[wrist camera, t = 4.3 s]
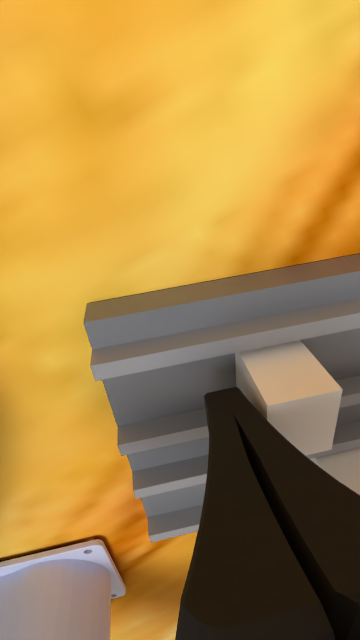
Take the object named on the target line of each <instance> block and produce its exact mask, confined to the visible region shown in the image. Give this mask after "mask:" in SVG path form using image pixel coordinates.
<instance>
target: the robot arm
mask: <svg viewBox="0 0 360 640" xmlns="http://www.w3.org/2000/svg"><path fill="white" fill-rule="evenodd" d="M204 400H205V408H206V417H207V425H208V431H209V455H208V469H207V479H206V487H205V494H204V501H203V507H202V513H201V518H200V524H199V529H198V533H197V538H196V542H195V547H194V551H193V556H192V560H191V564H190V568H189V571H188V575H187V579H186V582H185V586H184V590H183V594H182V597H181V602H180V611H179V618H178V624H177V631H176V639H175V640H360V495H359V494H357V493H356V492H354V491H353V490H351V489H350V488H348V487H347V486H345V485H344V484H342V483H341V482H339V481H338V480H336V479H335V478H334V477H332V476H331V475H330V474H328V473H327V472H326V471H324V470H323V469H322V468H320V467H319V466H318V465H317V464H315V463H314V462H313V461H311V460H310V459H309V458H308V457H307V456H305V455H304V454H303V453H302V452H301V451H299V450H298V449H297V448H296V447H295V446H294V445H293V444H291V443H290V442H289V441H288V440H287V439H286V438H285V437H284V436H283V435H282V434H281V433H279V432H278V431H277V430H276V429H275V428H274V427H273V426H272V425H271V424H270V423H269V422H268V421H267V420H266V419H265V418H264V417H263V415H262V414H261V413H260V412H259V411H258V410H257V409H256V408H255V407H254V406H253V405H252V403H251V402H250V401H249V400H248V399H247V398H246V396H245V395H244V394H243V393H242V392H241V390H240V389H239V388H238V387H233V388H228V389H223V390H218V391H214V392H209V393H206V394H205V395H204ZM125 594H126V586H125V584H124V582H123V580H122V578H121V576H120V574H119V572H118V570H117V568H116V566H115V564H114V562H113V560H112V558H111V556H110V554H109V552H108V550H107V548H106V546H105V544H104V542H103V541H102V540H99V539H96V540H91V541H87V542H82V543H78V544H74V545H70V546H65V547H61V548H57V549H53V550H49V551H44V552H40V553H36V554H32V555H28V556H23V557H19V558H15V559H11V560H6V561H2V562H0V640H110V625H111V599H114V598H118V597H121V596H124V595H125Z"/></svg>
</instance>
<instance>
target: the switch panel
mask: <svg viewBox="0 0 360 640" xmlns="http://www.w3.org/2000/svg"><path fill="white" fill-rule="evenodd" d="M84 326H85V329H86V332H87V335H88V338H89V341H90V344H91V347H92V356H91V365H90V367H91V370H92V372H93V375H94V378H95V381H98V380H102V381H103V384H104V387H105V390H106V393H107V396H108V399H109V402H110V405H111V408H112V411H113V414H114V417H115V420H116V423H117V426H118V448H119V451H120V454H121V456H123V455H127V457H128V460H129V463H130V466H131V469H132V474H133V492H134V494H135V497H136V499H138V498H141V499H142V502H143V505H144V508H145V511H146V514H147V517H148V531H149V538H150V541H151V543H152V542H156V541H160V540H164V539H168V538H172V537H176V536H181V535H185V534H189V533H193V532H197V531H198V529H199V524H200V518H201V513H202V507H203V501H204V494H205V487H206V479H207V469H208V455H209V431H208V425H207V417H206V408H205V400H204V395H205V394H206V393H209V392H214V391H218V390H223V389H228V388H233V387H236V366H235V353H237V352H242V351H247V350H252V349H257V348H262V347H267V346H272V345H277V344H282V343H287V342H292V341H297V340H301V342H302V343H303V344H304V345H305V346H306V347H307V349H308V350H309V351H310V352H311V353H312V354H313V356H314V357H315V358H316V359H317V360H318V361H319V363H320V364H321V365H322V366H323V367H324V368H325V370H326V371H327V372H328V373H329V374H330V375H331V377H332V378H333V379H334V380H335V381H336V382H337V384H338V385H339V386H340V387H341V388H342V389H343V390H342V396H341V401H340V407H339V412H338V417H337V423H336V428H335V433H334V439H333V444H332V450H328V451H324V452H319V453H315V454H311V455H306V456H307V457H308V458H309V459H312V458H316V457H320V456H325V455H329V454H333V453H338V452H342V451H346V450H351V449H355V448H359V447H360V254H355V255H349V256H344V257H338V258H333V259H328V260H322V261H317V262H311V263H306V264H300V265H295V266H289V267H284V268H279V269H273V270H268V271H262V272H257V273H251V274H246V275H240V276H235V277H229V278H224V279H219V280H213V281H208V282H202V283H197V284H191V285H186V286H180V287H175V288H169V289H164V290H159V291H153V292H148V293H142V294H137V295H131V296H126V297H120V298H115V299H110V300H104V301H99V302H93V303H88V304H87V306H86V312H85V317H84Z"/></svg>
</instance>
